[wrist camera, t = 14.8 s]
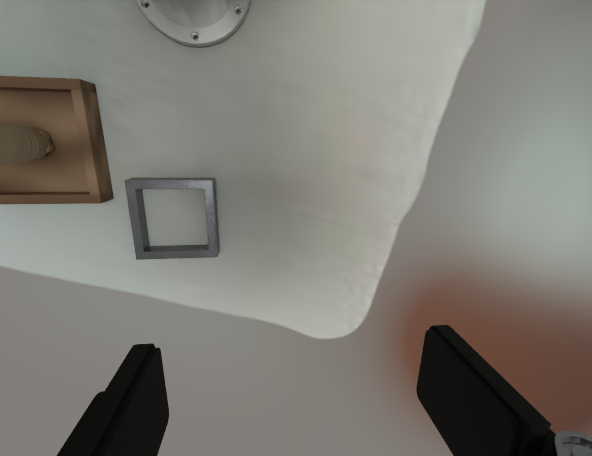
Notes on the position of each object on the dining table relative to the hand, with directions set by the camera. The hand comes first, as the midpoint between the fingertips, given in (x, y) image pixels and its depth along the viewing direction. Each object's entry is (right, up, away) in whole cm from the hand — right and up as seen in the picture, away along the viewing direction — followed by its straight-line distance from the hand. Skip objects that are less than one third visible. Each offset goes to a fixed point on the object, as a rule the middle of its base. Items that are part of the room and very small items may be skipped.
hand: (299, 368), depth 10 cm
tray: (-29, +15, +24) cm, 41 cm away
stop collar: (-16, +6, +28) cm, 33 cm away
